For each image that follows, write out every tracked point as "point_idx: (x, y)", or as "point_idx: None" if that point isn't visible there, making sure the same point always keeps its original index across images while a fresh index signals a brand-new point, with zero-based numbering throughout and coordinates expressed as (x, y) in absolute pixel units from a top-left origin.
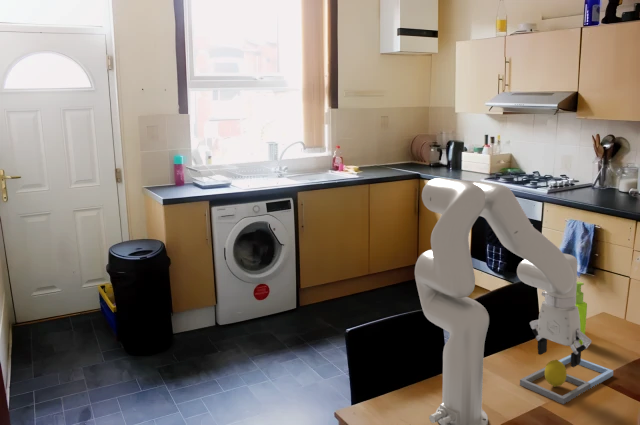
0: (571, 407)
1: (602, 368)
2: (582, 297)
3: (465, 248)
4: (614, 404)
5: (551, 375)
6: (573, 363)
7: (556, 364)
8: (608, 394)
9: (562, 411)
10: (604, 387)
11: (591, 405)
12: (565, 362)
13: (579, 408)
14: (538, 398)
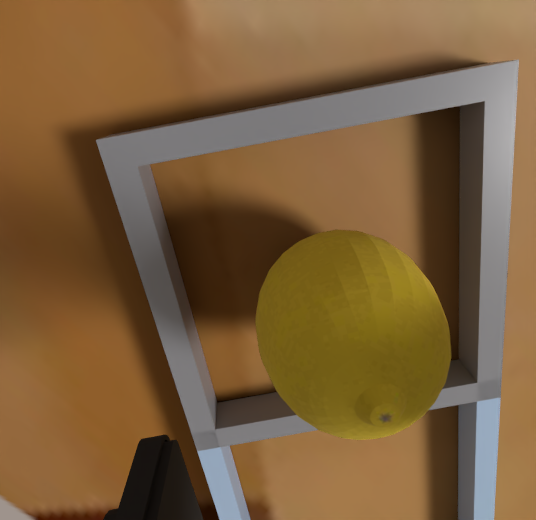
0: (56, 155)
1: None
2: None
3: None
4: (8, 406)
5: (322, 252)
6: (131, 484)
7: (339, 363)
8: (112, 454)
9: (26, 40)
10: None
11: (38, 292)
12: (464, 508)
13: (27, 194)
14: (263, 27)
